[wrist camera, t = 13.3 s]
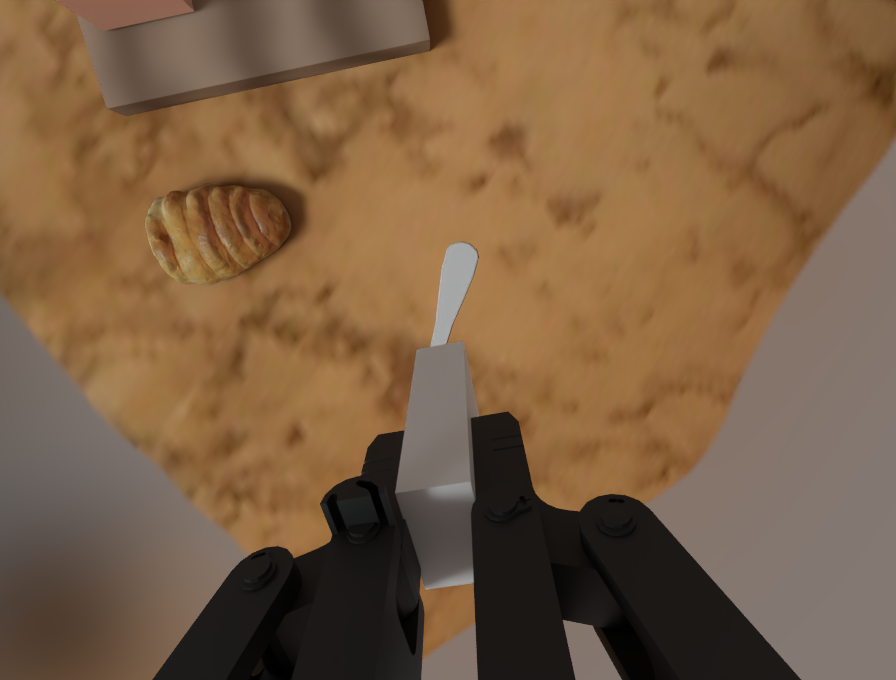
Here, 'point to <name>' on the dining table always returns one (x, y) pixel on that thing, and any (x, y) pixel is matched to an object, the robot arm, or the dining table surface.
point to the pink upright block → (126, 11)
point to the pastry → (215, 231)
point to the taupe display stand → (246, 47)
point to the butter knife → (453, 287)
